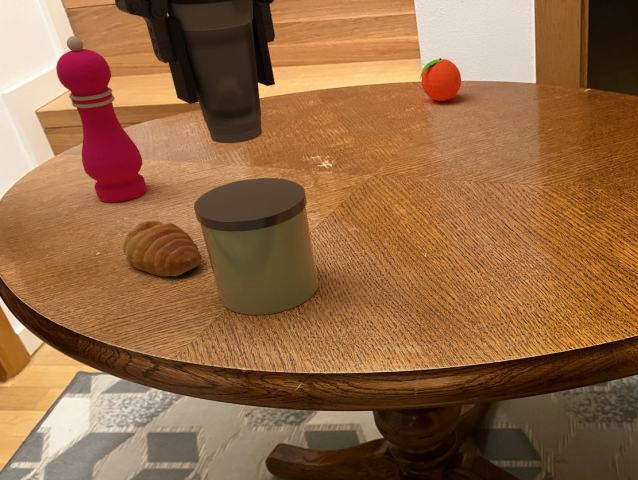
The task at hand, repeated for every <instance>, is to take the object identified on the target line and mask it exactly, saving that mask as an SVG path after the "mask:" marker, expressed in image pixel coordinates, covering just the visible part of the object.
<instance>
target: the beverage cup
mask: <svg viewBox="0 0 638 480" xmlns="http://www.w3.org/2000/svg"><path fill="white" fill-rule="evenodd" d="M167 16H170V17H173V18H177V19H179V23H180V27H181V31H182V35H183V39H184V43H185V47H186V52H187V56H188V60H189V64H190V68H191V72H192V76H193V81H194V85H195V89H196V93H197V97H198V101H199V102H198V104H199V107H200V111H201V113H202V117H203V120H204V122H205V124H206V127H207V130H208V132H209V135H210V139H211V140H212V142H214V143H219V144H237V143H238V144H240V143H245V142H249V141H252V140H255V139H257V138H259V137H260V136H261V135H262V134H263V130H262V109H261V99H260V87H259V83H258V78H257V68H256V58H255V48H254V38H253V28H252V20H253V1H252V0H168V9H167Z"/></svg>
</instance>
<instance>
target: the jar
mask: <svg viewBox="0 0 638 480" xmlns="http://www.w3.org/2000/svg"><path fill="white" fill-rule="evenodd" d="M307 201H308V200H307V195H306V190H305V188H304V186H302V185H301V184H299V183H298V182H296V181H294V180H290V179H285V178H278V177H277V178H276V177H257V178H247V179H243V180H237V181H232V182H229V183H225V184H222V185H219V186H217V187H214V188H212V189H209V190H208V191H206V192H204V193H203V194H202V195H200V196H199V197H198V198H197V199H196V201H195V202H194V203H193V210H194V215H195V219H196V221H197V222H198V223H199V225H200V228H201V229H200V230H201V232H202V236H203V240H204V244H205V247H206V250H207V256H208V259H209V262H210V266H211V270H212V273H213V278H214V282H215V285H216V288H217V293H218V296H219V301H220V303H221V304H222V305H223V307H225V308H226V309H227V310H230V311H231V312H234V313H236V314H242V315H249V316H258V315H259V316H263V315H264V316H265V315H272V314H276V313H282V312H285V311H288V310H291V309H293V308H296V307H298V306H300V305H302V304H304V303H305V302H307V301H308V300H309V299H311V298H312V297H313V296H314V295H315V293H317V291H318V289H319V276H318V270H317V265H316V264H317V263H316V260H315V253H314V248H313V243H312V242H313V241H312V236H311V231H310V224H309V218H308V213H307V207H306V206H307V203H308V202H307Z"/></svg>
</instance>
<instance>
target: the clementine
mask: <svg viewBox="0 0 638 480" xmlns="http://www.w3.org/2000/svg"><path fill="white" fill-rule="evenodd" d="M419 77H420V80H421V86H422V89H423V92H424V93H425V94H426V95H427V96H428V97H429V98H430V99H432V100H434V101H436V102H446V101H449V100H452V99H453V98H455V96H456V95H457V94H458V92H459V91H460V89H461V86H462V75H461V72H460V70H459V67H458V66H456V64H455V63H454V62H452V61H451V60H449V59H446V58H442V57H439V58H436V59H433V60H430V61H429V62H427V63H426V64H425V65H424V67H423V68H422V70H421V72H420V76H419Z"/></svg>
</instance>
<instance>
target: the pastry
mask: <svg viewBox="0 0 638 480" xmlns="http://www.w3.org/2000/svg"><path fill="white" fill-rule="evenodd" d="M122 251H123V254H124V255H125V257H126V260H127V262H129V264H130V265H131V266H134V267H135V268H136V269H137V270H140V271H142V272H146V273H149V274H150V275H155V276H158V277H179V276H180V275H183V274H184V273H186V272H188V271H191V270H193V269H195V268H196V267H198V266H199V264H200V261H201V258H202V256H201V253H200V251H199V248H198V245H197V244H196V243H195V242H194V240H193V238H192V237H191V236H190V234H188V233H187V232H186V231H185V230H184V229H182V228H181V227H179V226H178V225H176V224H174V223H172V222H171V223H163V222H161V221H159V220H147V221H144V222H140V223H139V224H137V225H136V226H135V227H134V228H133V229H132V230H129V232H128V233H127V235H126V236H125V239H124V241H123V246H122Z"/></svg>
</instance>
